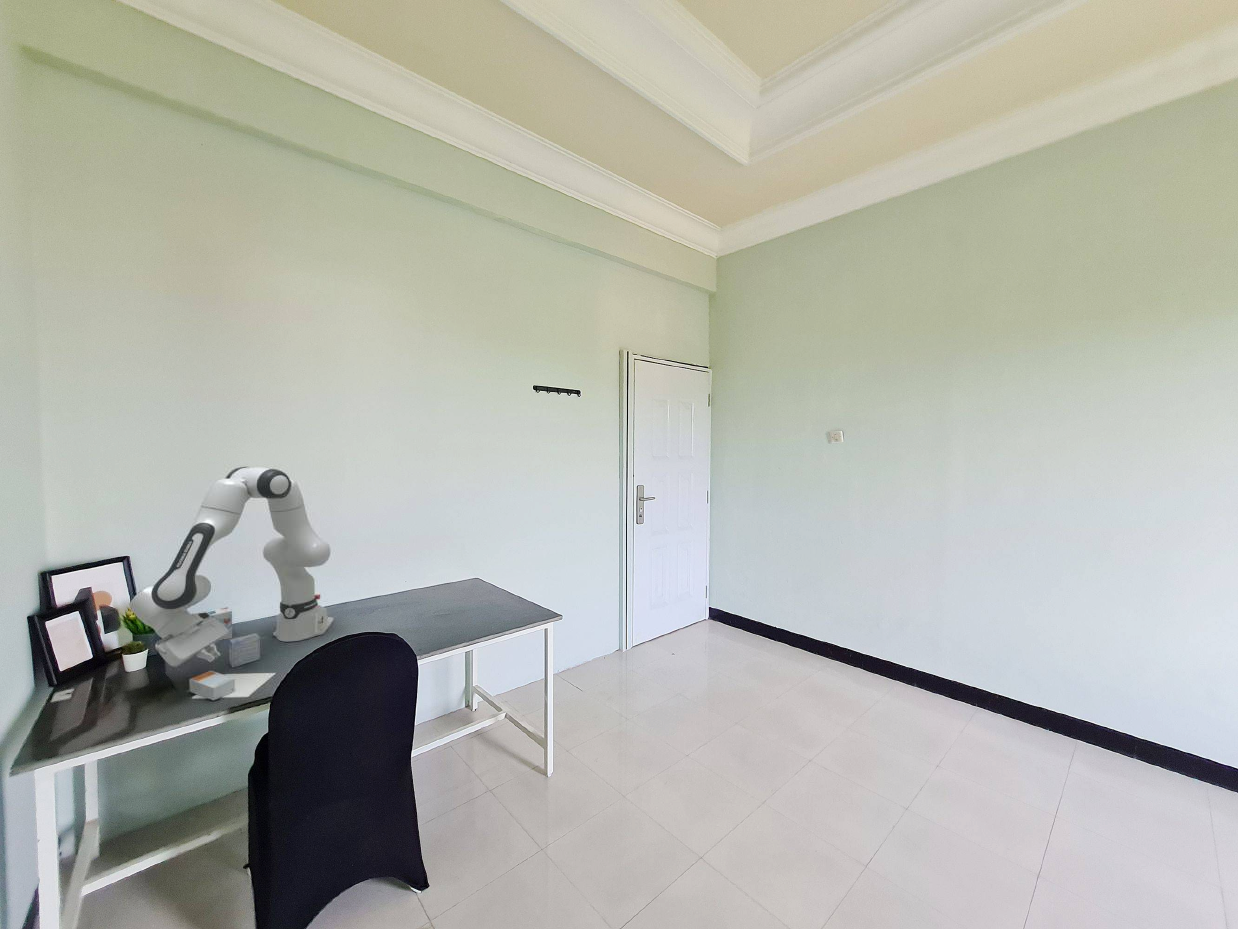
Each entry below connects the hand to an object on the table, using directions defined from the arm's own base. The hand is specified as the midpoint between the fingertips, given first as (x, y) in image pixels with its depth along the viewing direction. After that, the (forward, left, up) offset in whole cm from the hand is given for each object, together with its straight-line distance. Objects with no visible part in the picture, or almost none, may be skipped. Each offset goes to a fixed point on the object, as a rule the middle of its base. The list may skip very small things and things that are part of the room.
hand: (215, 658), depth 150 cm
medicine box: (-16, -2, -9) cm, 19 cm away
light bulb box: (-35, -25, -9) cm, 44 cm away
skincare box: (+1, -4, -7) cm, 8 cm away
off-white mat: (0, +6, -9) cm, 11 cm away
